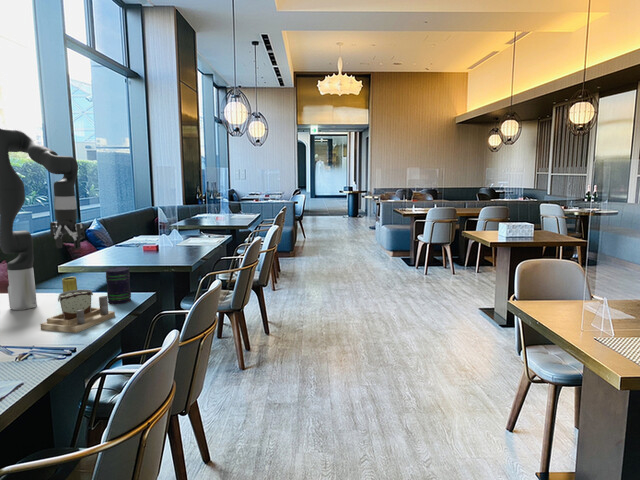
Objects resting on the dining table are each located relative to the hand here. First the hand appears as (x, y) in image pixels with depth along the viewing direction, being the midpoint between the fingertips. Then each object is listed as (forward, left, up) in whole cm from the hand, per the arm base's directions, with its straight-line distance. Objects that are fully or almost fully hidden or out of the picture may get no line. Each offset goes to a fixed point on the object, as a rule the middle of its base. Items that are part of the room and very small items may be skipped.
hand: (68, 248), depth 178 cm
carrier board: (+8, -6, -28) cm, 29 cm away
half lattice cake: (+6, -6, -26) cm, 27 cm away
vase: (-6, +5, -28) cm, 29 cm away
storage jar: (+3, +23, -28) cm, 36 cm away
